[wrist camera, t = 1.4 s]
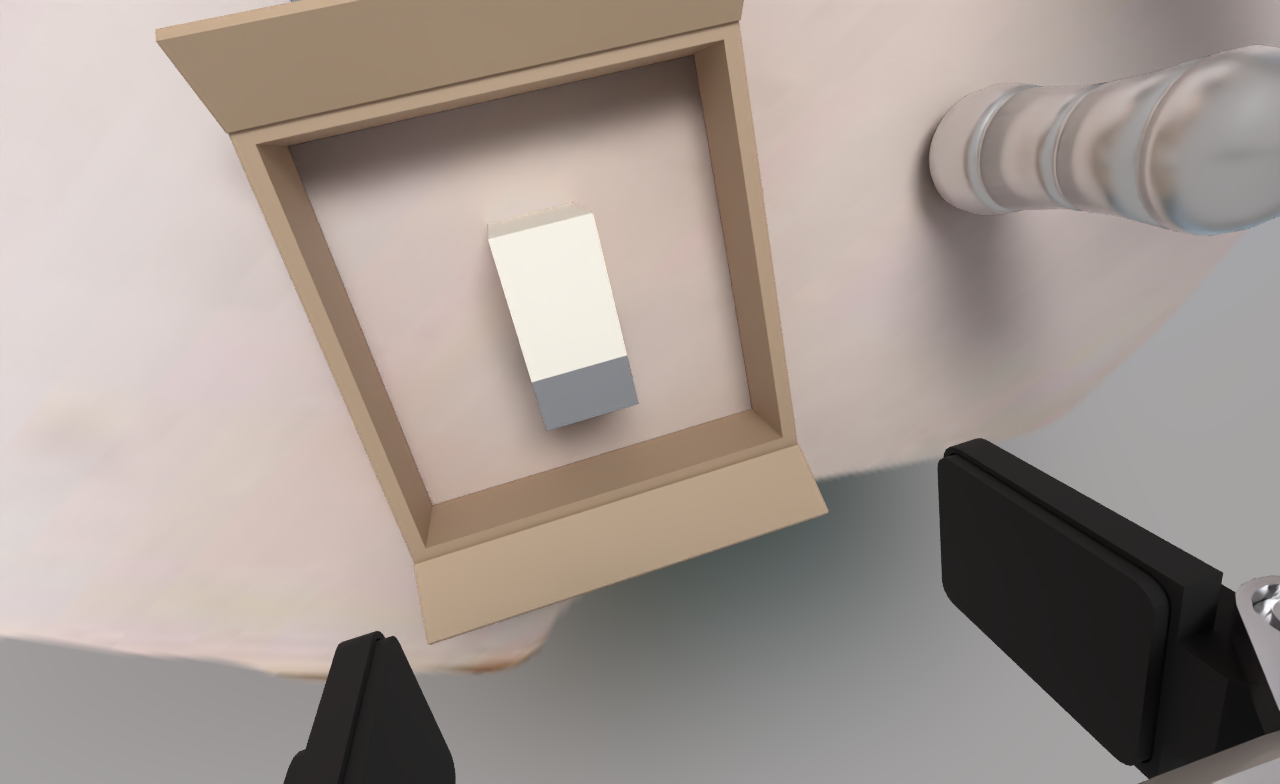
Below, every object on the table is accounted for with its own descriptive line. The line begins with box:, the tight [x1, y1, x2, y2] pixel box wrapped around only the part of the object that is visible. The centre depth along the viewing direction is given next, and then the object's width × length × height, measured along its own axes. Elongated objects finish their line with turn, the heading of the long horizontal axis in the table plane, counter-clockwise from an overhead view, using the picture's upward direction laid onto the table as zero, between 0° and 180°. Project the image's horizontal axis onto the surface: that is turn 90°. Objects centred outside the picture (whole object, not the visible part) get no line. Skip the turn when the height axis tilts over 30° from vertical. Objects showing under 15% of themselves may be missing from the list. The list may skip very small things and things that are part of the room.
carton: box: [156, 0, 829, 644], centre depth 31 cm, size 22×28×8 cm
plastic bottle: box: [929, 45, 1280, 236], centre depth 28 cm, size 6×7×20 cm
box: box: [488, 202, 639, 431], centre depth 32 cm, size 4×9×7 cm, turn 13°
